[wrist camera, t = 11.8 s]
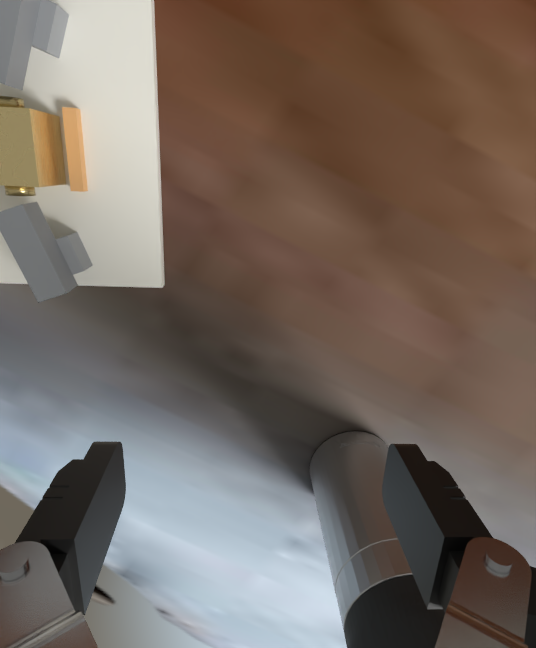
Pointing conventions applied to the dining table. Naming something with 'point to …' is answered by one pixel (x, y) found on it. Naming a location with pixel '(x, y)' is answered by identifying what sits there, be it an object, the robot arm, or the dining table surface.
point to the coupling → (29, 148)
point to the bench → (86, 145)
